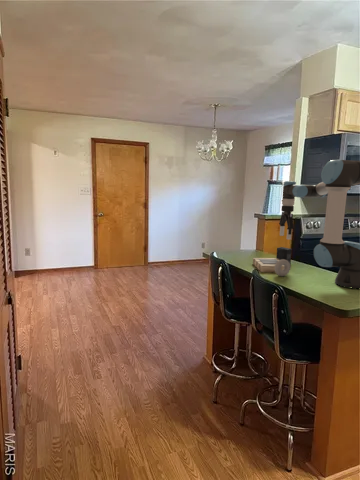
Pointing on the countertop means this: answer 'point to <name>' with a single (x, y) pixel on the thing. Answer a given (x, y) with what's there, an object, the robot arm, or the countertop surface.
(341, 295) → the countertop surface
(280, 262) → the grey wheel
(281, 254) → the box
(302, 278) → the countertop surface
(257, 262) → the stack base
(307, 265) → the countertop surface
